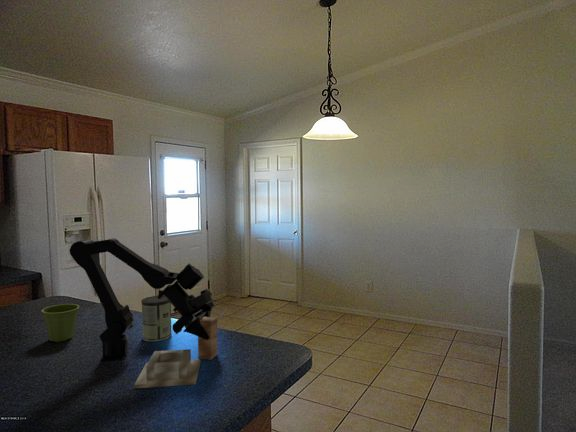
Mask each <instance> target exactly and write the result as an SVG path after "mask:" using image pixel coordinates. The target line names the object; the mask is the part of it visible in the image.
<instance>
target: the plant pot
mask: <svg viewBox="0 0 576 432" xmlns="http://www.w3.org/2000/svg"><path fill="white" fill-rule="evenodd" d="M80 307H81V306H80V305H79V304H77V303H76V304H75V303H64V304H56V305H50V306H46V307H44V308H43V309H42V310H41V313H43V317H44V320H45V324H46V329H47V334H48V339H49V341H50V342H55V343H59V342H64V341H65V342H66V341H68V340H70V339H72V338H73V335H74V329H75V325H76V318H77V315H78V310H79V308H80Z"/></svg>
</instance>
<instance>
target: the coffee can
mask: <svg viewBox="0 0 576 432" xmlns="http://www.w3.org/2000/svg"><path fill="white" fill-rule="evenodd" d="M140 303H141V321H142V322H141V323H142V326H141V327H142V328H141V329H142V340H143V341H145V342H147V343H149V342H150V343H151V342H152V343H153V342H154V343H155V342H162V341H165V340H167V339H170V338H171V337H172V307H171V305H172V304H171V303H170V301H169V300H168V299H167V298H166V297H164V298H162V299H158V295H152V296H148V297H144V298H143V299H141V300H140Z"/></svg>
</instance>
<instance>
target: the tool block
mask: <svg viewBox="0 0 576 432" xmlns="http://www.w3.org/2000/svg"><path fill="white" fill-rule="evenodd" d="M191 357H192V354H191V349H190V348H189V349H170V350H154V352H153V353H152V355H151V357H150V359H149V360H148V362H146V363H145V364H144V367H143V369H142V370H141V372H140V374H139V375H138V377H137V379H136V381H135V383H134V385H133V386H134V387H133V388H134V389H143V388H144V389H146V388H147V389H148V388H161V387H174V386H177V387H178V386H188V385H189V386H192V385H196V384H197V382H198V376H199V371H200V367H201V361H202V359H199V358H198V359H192V358H191Z"/></svg>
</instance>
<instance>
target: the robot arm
mask: <svg viewBox="0 0 576 432" xmlns="http://www.w3.org/2000/svg"><path fill="white" fill-rule="evenodd" d="M102 253H109V254H111V255H112V256H114V257H116V258H117V259H118V260H120V261H121V262H123V264H125V265H127V266H128V267H130V268H131V269H133V270H135V272H137V273H138V274H139V275H140V276H141V277H142V278H143V280H144V281H145V282H146V283H147V284H148V285H149V286H150V287H151V288H153V289H154V290H158V294H157V296H158V299H162V298H164V297H166V298H167V299H168V300H169V301H170V303H171V305H172V306H173V309H172V311H173V312H174V313H176V312H178V314H179V315H180V317H179V318H178V319H177V320H176V321H175V322H174V323H173V325H172V324H171V331H173V333H175V334H176V335H177V334H179V333H181V332H182V331H183V333H188V334H191V335H194V336H196V337H197V338H198V337H201V338H203V339H206V340H208V339H209V336H208V334H207V333H206V331H205V330H204V328H203V327H202V326H201V324H200V319H202V318H203V317H211V313H212V310H213V308H214V307H215V306H216V305H215V304H214V303H213V302H212V301H213V299H212V296H213V293H212V292H211V291H210V290H209V289H208V288H206V289H203V290H202V291H200V294H199V295H196V296H195V295H193V294H188V293H187V291H188V290H190V291H191V290H192V289H194V288H195V287H196V286H197V285H198V284H199V283H200V282H201V281H203V279H204V278H205V277H204V274H203V273H202V272H201V271H200V270H199V269H198V268H196V267H195V266H194V265H192V264H191V263H187V265H185V267H184V268H183V269H182V270H181V271H180V272H174V271H173V272H172V271H169V270H168V269H167V268H165V267H162V266H161V265H158V264H155V263H153V262H149V261H148V260H146V259H145V258H144V257H142V256H140V255H139V254H138V253H136V252H135V251H133V250H132V249H130V248H129V247H128V246H126V245H125V244H123V243H122V242H121V241H119V240H118V239H117V238H109V239H103V240H95V241H94V240H92V239H83V240H78V241H75V242H73V243H72V244H71V246H70V247H69V254H70V256H71V258H72V259H73V260H74V262H75V263H76V264H77V265H79V266H80V268H81V269H83V270H84V272H85V273H86V275H87V277H88V280H89V282H90V283H91V285H92V288H93V290H94V291H95V293H96V295H97V297H98V300H99V302H100V304H101V305H102V308H103V309H104V322H105V325H106V329H104V330H103V332H102V333H101V334H100V335H99V339H100V341H101V343H102V345H101V346H102V347H101V348H102V356H101V357H100V360H101V361H107V360H108V361H110V360H122V359H123V358H124V357H125V356H126V354H127V353H128V352H129V351H128V349H129V347H128V346H129V345H128V339H127V338H126V334H125V333H126V332H127V330H129V328H130V327H131V326H132V325H133V322H134V321H133V319H134V318H133V319H132V316H133V317H134V314H133V313H132V312H131V310H130V307H129V305H128V304H126V305H122V304H121V303H120V302H119V300H118V298H117V295H116V294H115V292H114V290H113V287H112V286H111V284H110V282H109V279H108V277H107V275H106V273H105V271H104V270H103V267H102V265H101V263H100V258H101V257H100V254H102ZM166 285H167V286H166ZM164 287H165V288H164ZM162 288H164V289H162ZM132 321H133V322H132ZM183 328H184V330H183Z"/></svg>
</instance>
